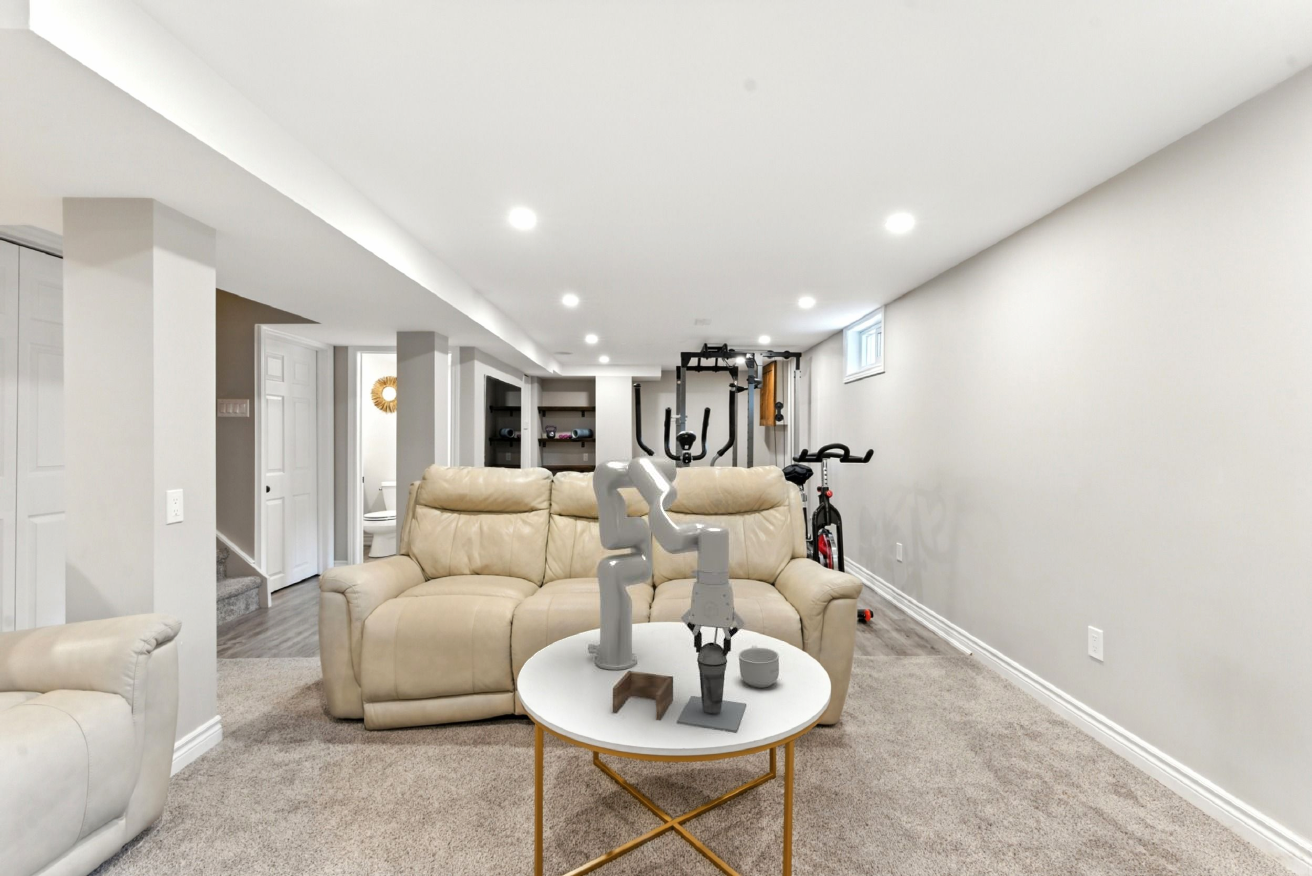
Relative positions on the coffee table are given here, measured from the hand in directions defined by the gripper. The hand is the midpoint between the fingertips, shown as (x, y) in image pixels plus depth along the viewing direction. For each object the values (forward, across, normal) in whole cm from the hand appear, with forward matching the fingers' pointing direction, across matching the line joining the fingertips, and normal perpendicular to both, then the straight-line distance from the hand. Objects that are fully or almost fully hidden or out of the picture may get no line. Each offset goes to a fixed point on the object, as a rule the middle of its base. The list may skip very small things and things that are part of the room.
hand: (712, 651), depth 137 cm
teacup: (+15, +8, +23) cm, 29 cm away
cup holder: (+15, -17, -2) cm, 23 cm away
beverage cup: (+14, 0, 0) cm, 14 cm away
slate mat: (+15, 0, 0) cm, 15 cm away
